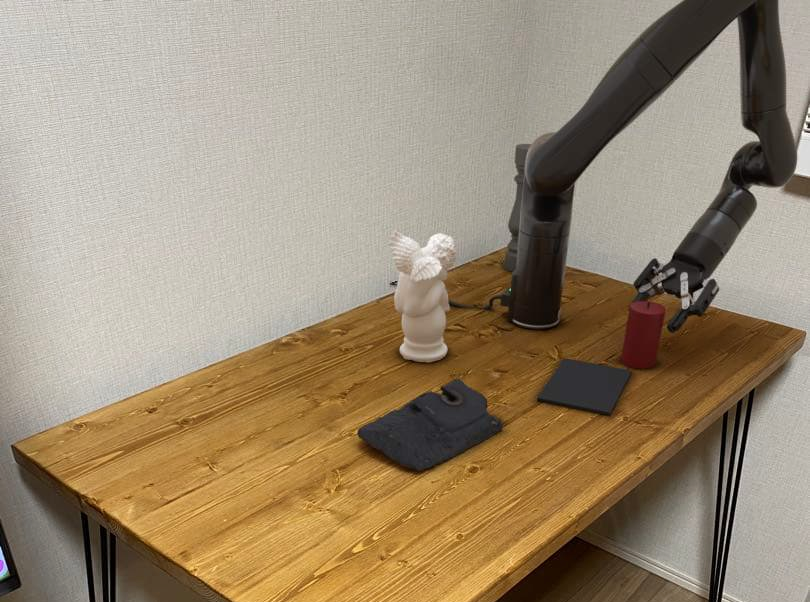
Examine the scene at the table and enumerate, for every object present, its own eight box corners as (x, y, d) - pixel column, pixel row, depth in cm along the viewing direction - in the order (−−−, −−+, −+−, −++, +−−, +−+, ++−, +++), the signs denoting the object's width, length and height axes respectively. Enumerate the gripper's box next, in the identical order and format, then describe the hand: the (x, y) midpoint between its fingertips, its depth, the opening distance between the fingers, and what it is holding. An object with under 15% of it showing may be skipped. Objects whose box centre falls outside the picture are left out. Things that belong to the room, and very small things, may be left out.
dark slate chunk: (340, 440, 132) (340, 412, 129) (437, 393, 145) (439, 366, 142) (416, 479, 124) (417, 449, 121) (512, 425, 137) (515, 397, 134)
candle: (617, 365, 156) (627, 304, 149) (624, 352, 160) (635, 293, 154) (651, 371, 154) (663, 310, 147) (657, 358, 158) (669, 298, 152)
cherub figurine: (445, 340, 163) (451, 218, 150) (467, 368, 153) (475, 240, 140) (381, 346, 160) (382, 222, 147) (399, 375, 150) (402, 246, 137)
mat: (536, 400, 144) (537, 397, 143) (563, 361, 156) (564, 357, 156) (609, 415, 140) (610, 412, 140) (631, 373, 153) (632, 370, 152)
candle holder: (533, 272, 193) (546, 150, 179) (505, 272, 193) (515, 149, 179) (530, 263, 198) (543, 143, 184) (503, 262, 198) (513, 143, 184)
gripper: (666, 221, 154) (611, 298, 155) (735, 242, 145) (676, 324, 146) (680, 246, 160) (627, 320, 161) (747, 268, 151) (690, 347, 152)
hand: (650, 322), depth 153 cm, fingers open, 8 cm apart
